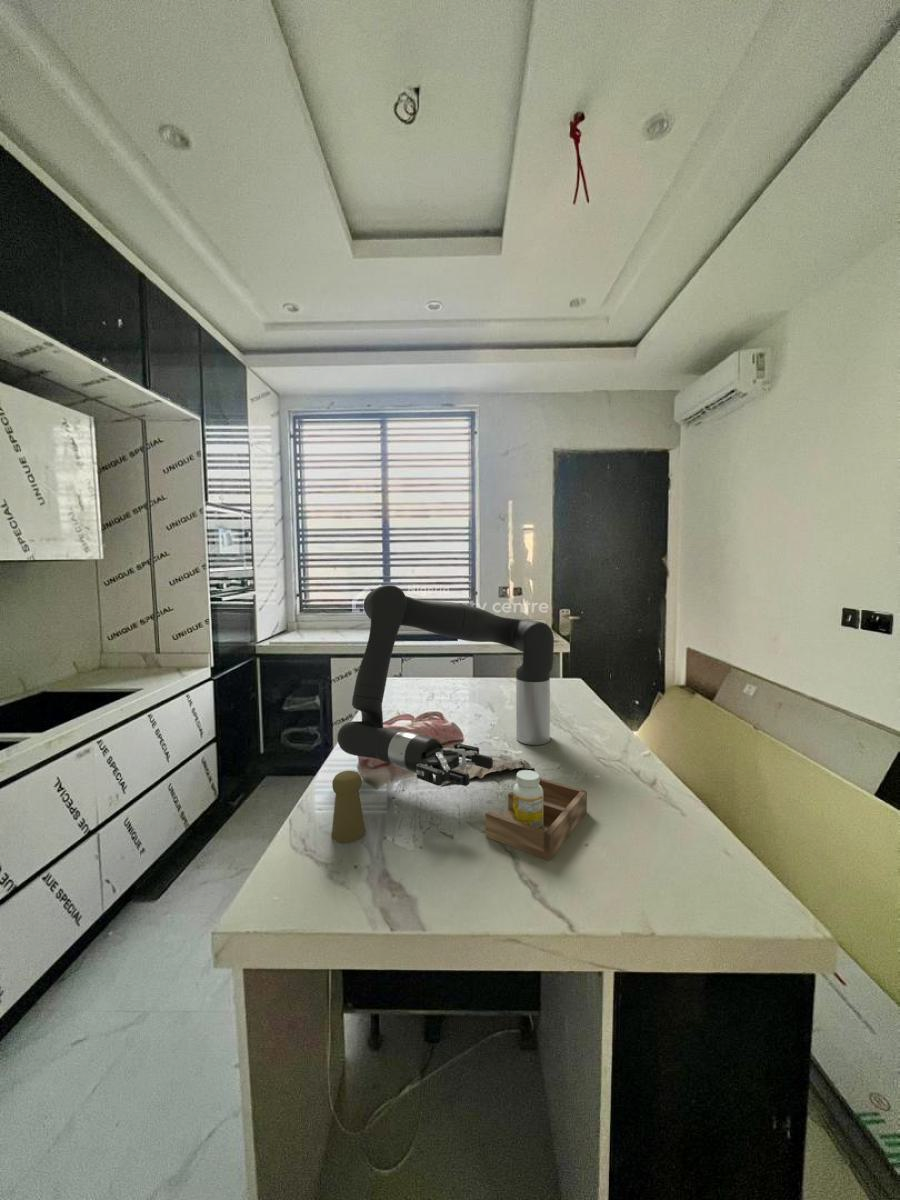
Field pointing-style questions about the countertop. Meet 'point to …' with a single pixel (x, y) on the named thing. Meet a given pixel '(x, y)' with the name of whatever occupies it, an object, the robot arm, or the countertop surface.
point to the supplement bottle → (528, 799)
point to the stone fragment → (497, 766)
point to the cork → (347, 808)
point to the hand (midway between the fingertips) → (480, 771)
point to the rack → (558, 821)
